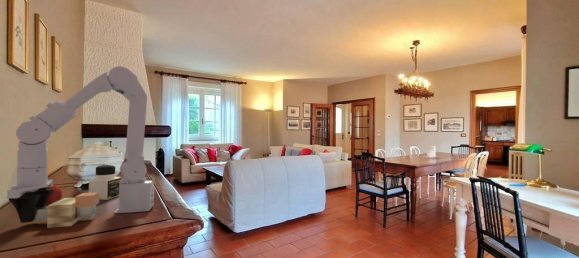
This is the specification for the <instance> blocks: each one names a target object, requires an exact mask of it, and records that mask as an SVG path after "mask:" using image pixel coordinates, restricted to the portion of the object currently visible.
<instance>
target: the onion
mask: <svg viewBox="0 0 579 258" xmlns="http://www.w3.org/2000/svg"><path fill="white" fill-rule="evenodd" d="M46 189H53V192H52V194H51V195H50V197H49V198H48V200H47V203H46V205H45V207H46V206H48V205H51V204H53V203H55V202H57V201H59V200H62V199H63V198H62V197H63V191H62V190H61V188H60V187H58V186H57V185H55V183H54V182H53V186H52V187H46Z"/></svg>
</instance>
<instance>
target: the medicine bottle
mask: <svg viewBox="0 0 579 258" xmlns="http://www.w3.org/2000/svg"><path fill="white" fill-rule="evenodd" d="M121 179H122V178H121V176H116V166H115V165H113V164H102V165H98V166H96V167H95V178H93V179H89V180H88V193H95V192H99V201H105V200H106V201H108V200H112V199H115V198H117V197H119V181H120V180H121Z"/></svg>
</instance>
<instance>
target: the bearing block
mask: <svg viewBox="0 0 579 258" xmlns="http://www.w3.org/2000/svg"><path fill="white" fill-rule="evenodd" d="M75 199H76V197H64V198H61V199H60V200H59V201H57V202H55V203H53V204H51V205H48V218H47V221H46V222H47V223H46V225H47V226H46V227H47V229H50V228H62V227H72V226H73V225H75V224H76V223H78V222H80V221H81V220H83V218H75Z"/></svg>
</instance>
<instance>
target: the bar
mask: <svg viewBox="0 0 579 258" xmlns="http://www.w3.org/2000/svg"><path fill="white" fill-rule="evenodd" d="M96 215H97V204H96V205H95V206H93V207H79V208H75V218H82V219H84V218H85V219H86V218H89V219H90V218H92V217H94V216H96ZM47 218H48V206H45V207H36V208H35V214H34V219H33V221H32V223H33V222H45V221H46V222H47ZM26 223H28V222H25V223H24V224H26Z"/></svg>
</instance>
